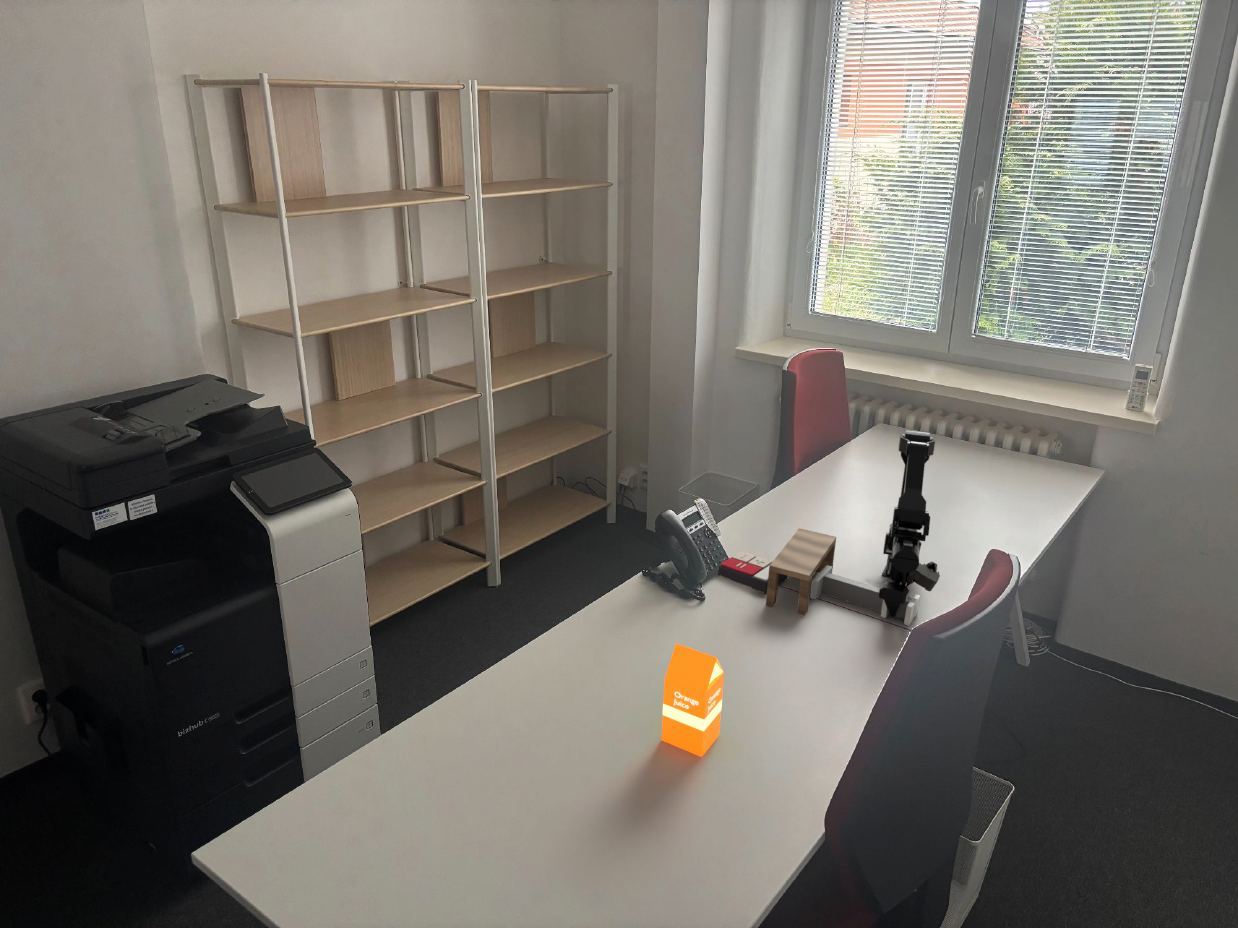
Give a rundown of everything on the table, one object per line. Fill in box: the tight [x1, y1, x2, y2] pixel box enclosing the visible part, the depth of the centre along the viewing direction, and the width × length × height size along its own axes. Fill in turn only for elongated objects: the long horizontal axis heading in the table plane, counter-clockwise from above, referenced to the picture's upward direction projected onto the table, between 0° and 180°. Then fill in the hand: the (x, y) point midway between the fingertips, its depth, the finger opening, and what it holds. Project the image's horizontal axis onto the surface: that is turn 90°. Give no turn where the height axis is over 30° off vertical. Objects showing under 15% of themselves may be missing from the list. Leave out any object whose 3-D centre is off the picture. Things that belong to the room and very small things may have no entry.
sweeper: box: [809, 565, 921, 626], centre depth 216 cm, size 10×24×5 cm, turn 56°
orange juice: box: [661, 642, 725, 758], centre depth 165 cm, size 8×9×20 cm
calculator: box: [717, 550, 789, 595], centre depth 229 cm, size 11×4×15 cm
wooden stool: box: [765, 527, 837, 616], centre depth 221 cm, size 24×10×11 cm, turn 152°
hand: (895, 610), depth 213 cm, fingers closed on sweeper, 7 cm apart
